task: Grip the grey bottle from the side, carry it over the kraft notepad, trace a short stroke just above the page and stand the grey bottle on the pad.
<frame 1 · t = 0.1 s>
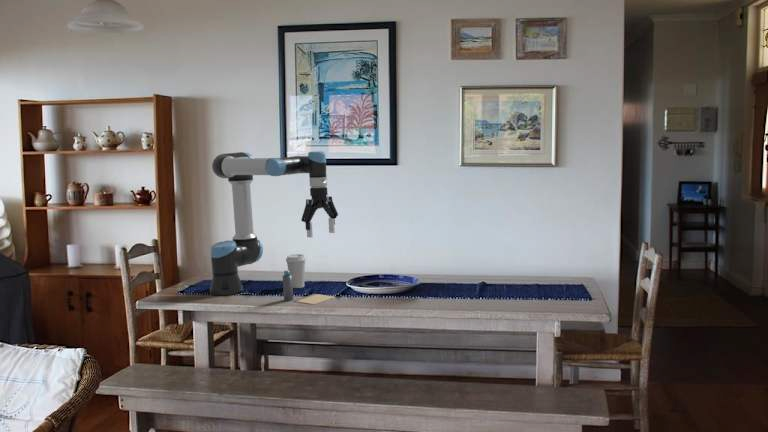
hand: (321, 235, 297), 28 cm above the table, tool pointing down, fingers open, 13 cm apart
notepad: (314, 299, 297), on the table
grey bottle: (288, 300, 298), on the table
coffee cup: (297, 287, 323), on the table
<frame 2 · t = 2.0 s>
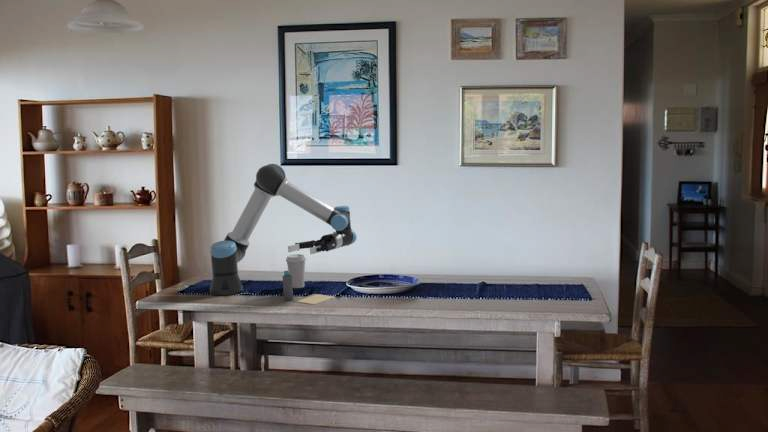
hand: (299, 250, 303), 21 cm above the table, tool horizontal, fingers open, 13 cm apart
nothing on the table moved.
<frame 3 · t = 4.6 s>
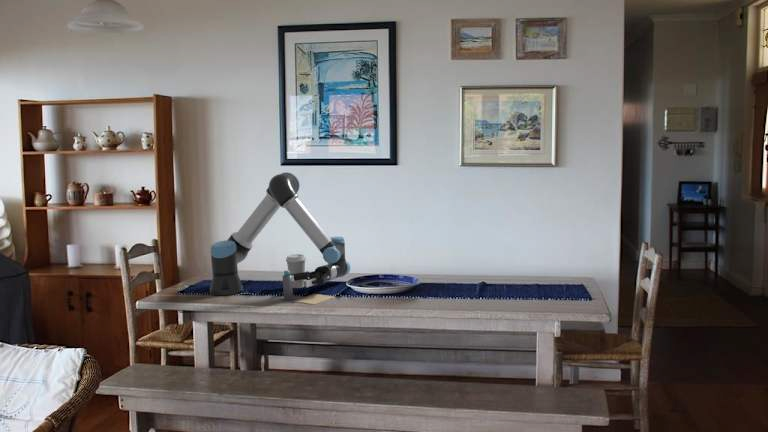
hand: (294, 282, 301), 7 cm above the table, tool horizontal, fingers open, 13 cm apart
nothing on the table moved.
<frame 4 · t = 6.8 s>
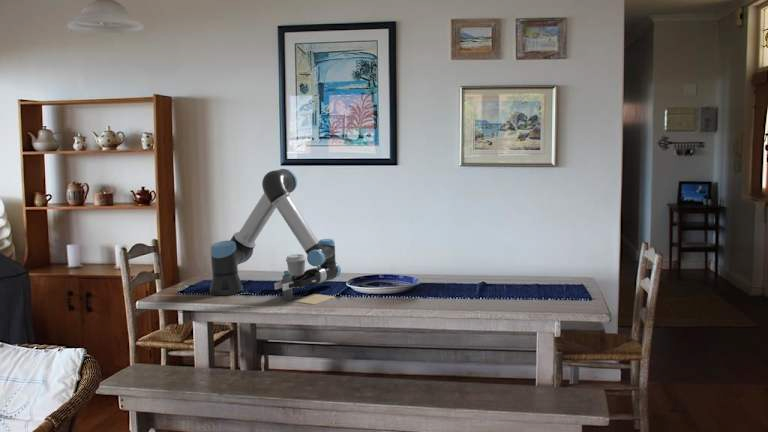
hand: (279, 287, 293), 7 cm above the table, tool horizontal, fingers closed on grey bottle, 4 cm apart
grey bottle: (288, 300, 298), on the table, touching gripper
everything else where it was.
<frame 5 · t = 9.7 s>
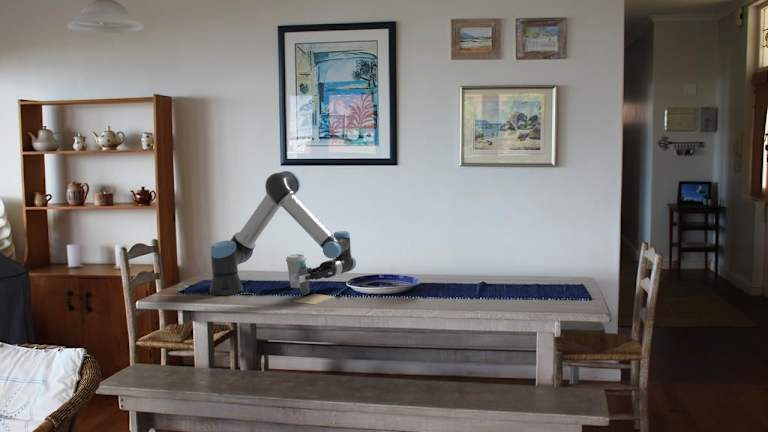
hand: (295, 279, 291), 11 cm above the table, tool horizontal, fingers closed on grey bottle, 4 cm apart
grey bottle: (305, 292, 296), point 4 cm above the table, touching gripper
everything else where it was.
when the fingers open (8 cm above the table, at t = 12.9 s): grey bottle stays where it is, resting on notepad.
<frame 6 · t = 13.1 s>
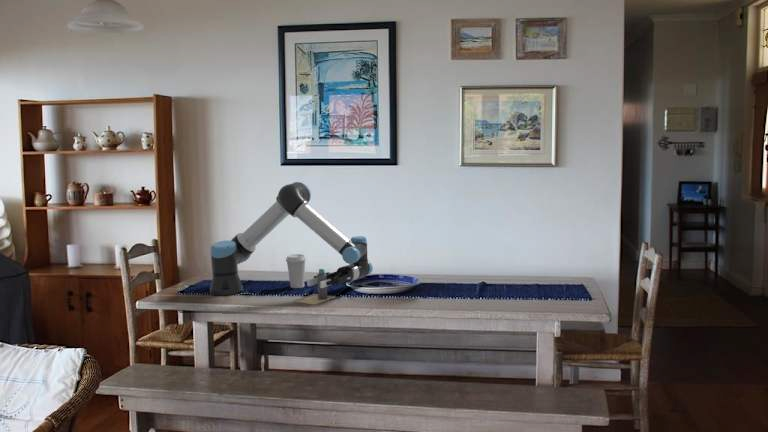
hand: (314, 284, 292), 8 cm above the table, tool horizontal, fingers open, 7 cm apart
grey bottle: (322, 298, 297), resting on notepad
everything else where it was.
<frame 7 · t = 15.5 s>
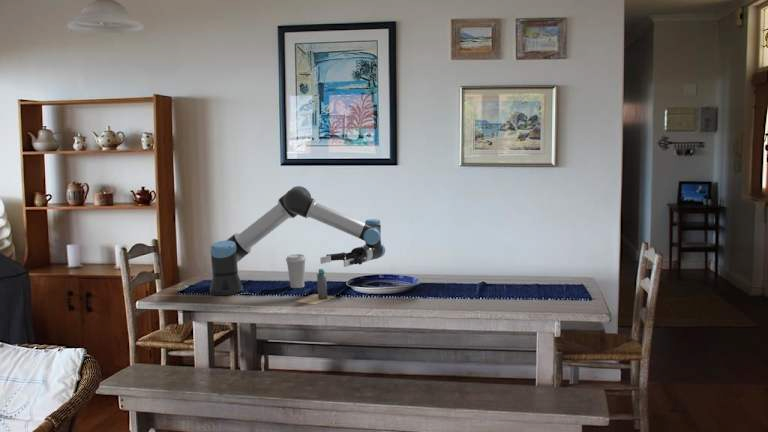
hand: (332, 262, 304), 15 cm above the table, tool horizontal, fingers open, 13 cm apart
nothing on the table moved.
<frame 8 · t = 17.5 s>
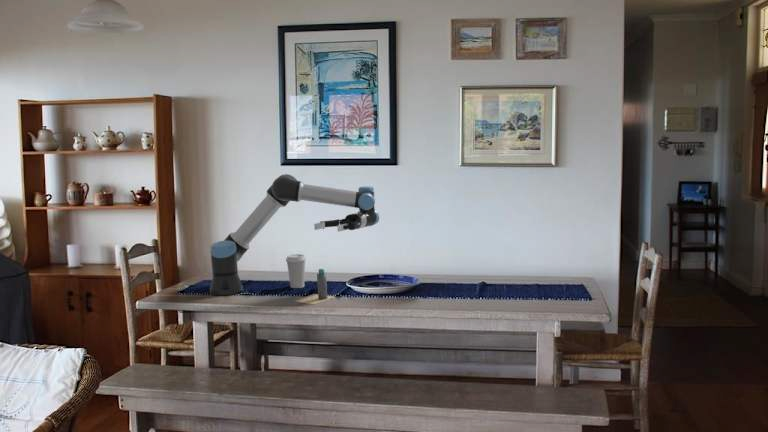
hand: (326, 227, 305), 30 cm above the table, tool horizontal, fingers open, 13 cm apart
nothing on the table moved.
at the end: grey bottle inside the target area (3.6 cm from its centre), resting on notepad; grey bottle tilted 0°; the gripper is holding nothing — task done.
